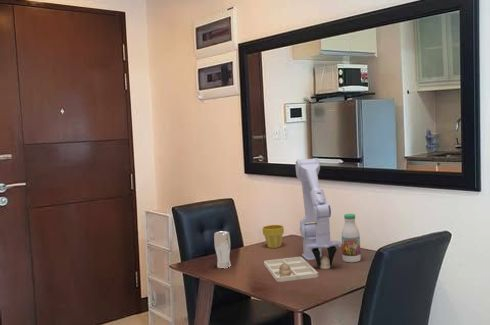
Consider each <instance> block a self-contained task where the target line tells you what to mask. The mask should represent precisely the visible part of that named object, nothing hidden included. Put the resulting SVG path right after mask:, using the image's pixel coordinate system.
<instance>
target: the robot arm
mask: <svg viewBox="0 0 490 325" xmlns="http://www.w3.org/2000/svg"><path fill="white" fill-rule="evenodd" d="M320 170H321V164H320V160H319V159H318V158H317V157H315V158H306V159H296V161H295V174H296V178H297V179H298V180H300V182H301V190H302V199H303V205H304V214H305V215H304V217H303V218H302V219H301V220H300V222H299V232H300V237H301V238H302V239H303V240H302V245H303V246H302V247H303V248H302V250H303V253H302V254H301V257H302V258H303V259H304V260H305V261H309V260H315V262H316V264H317V267H320V257H321V256H323V254H322V249H326V250H327V254H328V255H327V256H328V257H329V259H330V266H333V261H334V257H335V254H336V252H337V250H338V249H337V248H338V247H339V248H342V241H340V240H337V241H335V240H334V241H333V240H332V241H331V232H330V231H331V228H330V218H331V216H332V209H331V205H330V203H329V201H327V199H326V196H325V193H324V189H322V188H320V182H319V176H318V175H319V174H320V173H319V172H320Z"/></svg>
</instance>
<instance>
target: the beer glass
mask: <svg viewBox="0 0 490 325" xmlns="http://www.w3.org/2000/svg"><path fill="white" fill-rule="evenodd" d="M213 234H214V235H213V239H214V242H213V243H214V250H215V254H216V258H217V263H216V268H217V269H221V268H224V269H228V267H229V268H231V267H232V265H231V260H230V254H231V236H230V231H225V230H220V231H216V232H214V233H213ZM230 266H231V267H230Z"/></svg>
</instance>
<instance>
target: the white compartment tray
mask: <svg viewBox="0 0 490 325" xmlns="http://www.w3.org/2000/svg"><path fill="white" fill-rule="evenodd" d="M284 263H286V264H288V265H289V266H290V269H291V276H286V277H280V273H279V268H280V265H281V264H284ZM263 265H264V266H265V269H266V270H268V272H269V273H270V275H271V276H272V277H273V279H274V280H275V281H276V283H282V282H291V281H299V280H307V279H316V278H319V277H320V276H319V275H320V274H319V272H318V271H317V270H316V269H315V268H314V267H313V266H312V265H311V264H310V263H309V262H308V261H307V260H306V259H305V258H304V257H303V256H295V257H285V258H277V259H268V260H263Z"/></svg>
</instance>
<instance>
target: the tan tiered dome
mask: <svg viewBox="0 0 490 325" xmlns="http://www.w3.org/2000/svg"><path fill="white" fill-rule="evenodd" d="M279 273H280V277H286V276H291V269H290V266H289V265H288V264H286V263H284V264H281V265H280V268H279Z"/></svg>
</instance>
